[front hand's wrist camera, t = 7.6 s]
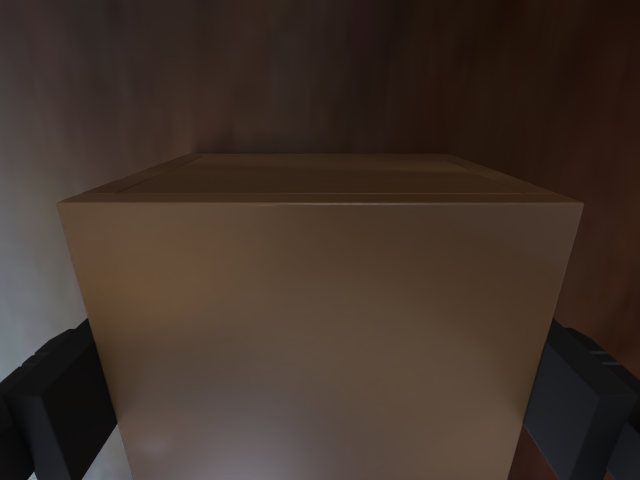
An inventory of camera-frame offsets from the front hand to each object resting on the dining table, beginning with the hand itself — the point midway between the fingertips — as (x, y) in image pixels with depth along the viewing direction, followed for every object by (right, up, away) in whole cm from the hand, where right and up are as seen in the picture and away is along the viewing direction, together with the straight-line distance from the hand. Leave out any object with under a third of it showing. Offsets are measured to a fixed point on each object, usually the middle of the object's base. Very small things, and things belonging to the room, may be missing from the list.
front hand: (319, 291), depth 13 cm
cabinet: (0, -3, +5) cm, 6 cm away
